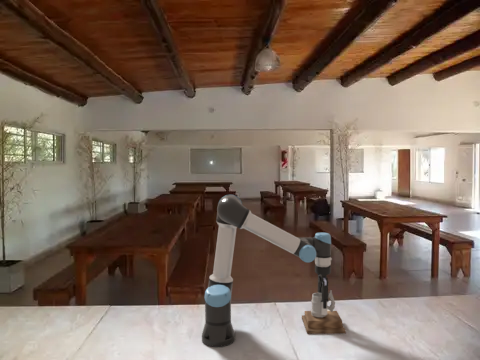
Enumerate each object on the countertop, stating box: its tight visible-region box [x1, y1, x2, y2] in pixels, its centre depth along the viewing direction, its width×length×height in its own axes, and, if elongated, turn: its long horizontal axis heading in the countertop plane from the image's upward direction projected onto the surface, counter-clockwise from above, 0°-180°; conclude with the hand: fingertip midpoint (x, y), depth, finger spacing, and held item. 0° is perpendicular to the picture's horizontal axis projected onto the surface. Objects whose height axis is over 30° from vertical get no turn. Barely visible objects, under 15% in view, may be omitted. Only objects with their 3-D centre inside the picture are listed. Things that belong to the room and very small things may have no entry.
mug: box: [310, 289, 336, 317], centre depth 202 cm, size 8×12×12 cm, turn 93°
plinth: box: [301, 310, 347, 335], centre depth 202 cm, size 18×18×5 cm
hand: (322, 311), depth 202 cm, fingers closed on mug, 7 cm apart
